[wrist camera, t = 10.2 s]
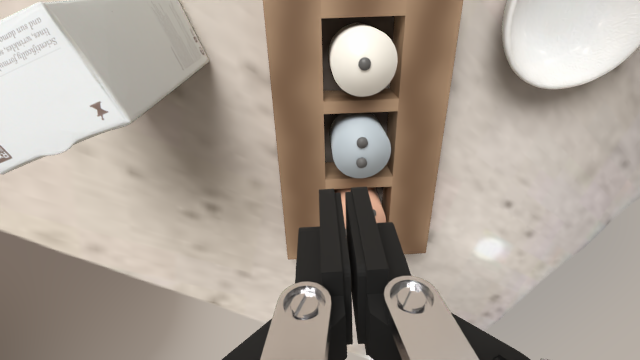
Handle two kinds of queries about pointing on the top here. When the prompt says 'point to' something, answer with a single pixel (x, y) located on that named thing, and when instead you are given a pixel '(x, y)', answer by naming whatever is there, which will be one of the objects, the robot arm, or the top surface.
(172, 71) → the skincare box
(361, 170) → the two-pip button
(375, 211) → the three-pip button
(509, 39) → the spoon rest
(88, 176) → the top surface
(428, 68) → the wooden three-slot caddy
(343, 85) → the one-pip button
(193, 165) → the top surface
